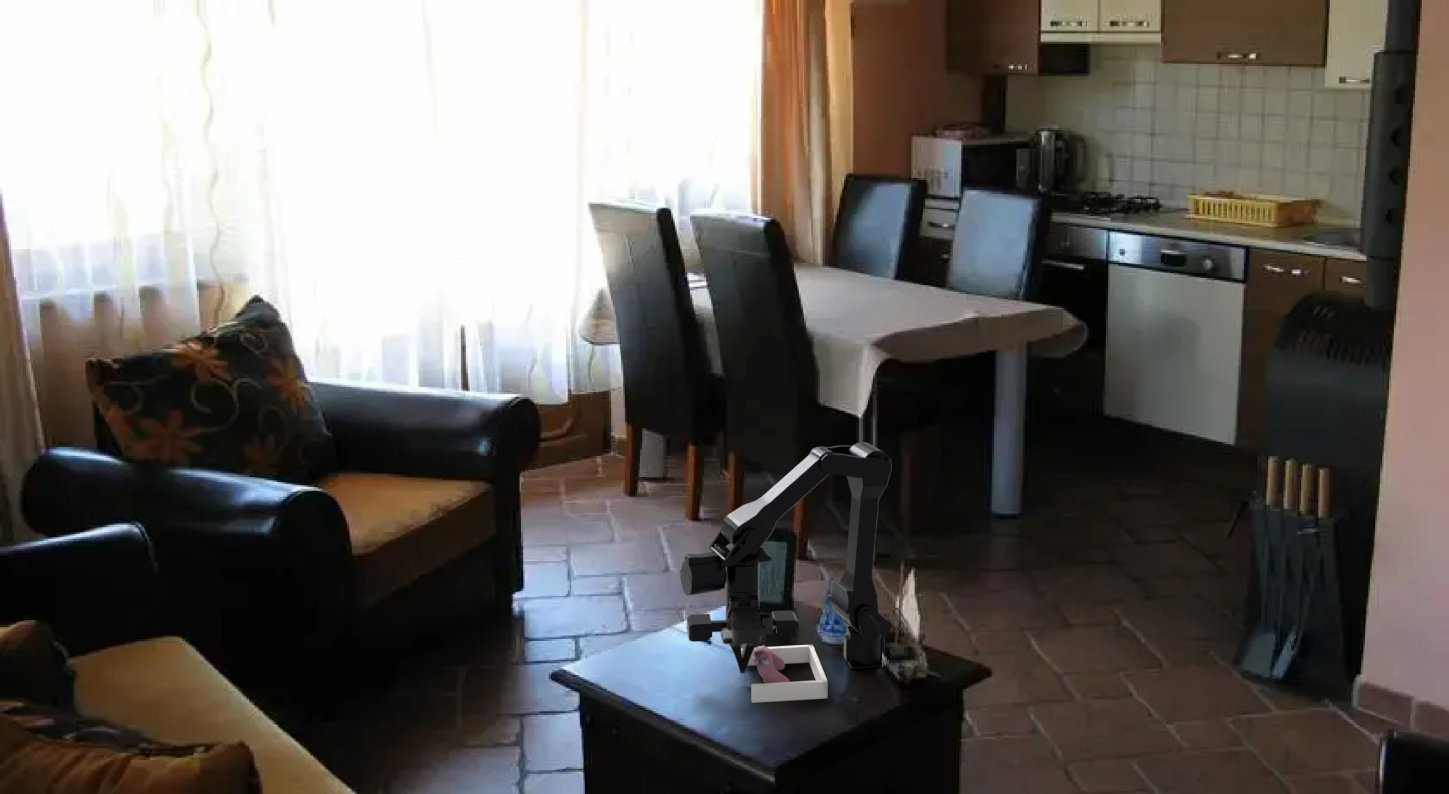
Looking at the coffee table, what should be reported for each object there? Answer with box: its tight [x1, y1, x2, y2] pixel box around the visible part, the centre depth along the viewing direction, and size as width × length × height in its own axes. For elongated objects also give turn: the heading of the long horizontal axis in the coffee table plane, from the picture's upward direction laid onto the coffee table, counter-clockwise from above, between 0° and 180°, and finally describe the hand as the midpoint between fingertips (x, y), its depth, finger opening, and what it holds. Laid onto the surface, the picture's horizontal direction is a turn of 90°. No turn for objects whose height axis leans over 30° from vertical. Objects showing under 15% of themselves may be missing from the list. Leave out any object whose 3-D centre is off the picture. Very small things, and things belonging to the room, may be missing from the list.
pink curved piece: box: [752, 644, 791, 683], centre depth 259 cm, size 10×5×7 cm, turn 5°
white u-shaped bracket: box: [741, 644, 829, 704], centre depth 259 cm, size 13×16×3 cm
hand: (742, 672), depth 258 cm, fingers closed
